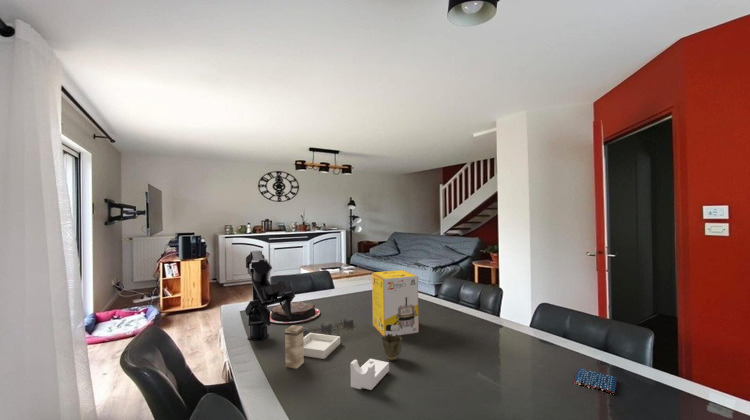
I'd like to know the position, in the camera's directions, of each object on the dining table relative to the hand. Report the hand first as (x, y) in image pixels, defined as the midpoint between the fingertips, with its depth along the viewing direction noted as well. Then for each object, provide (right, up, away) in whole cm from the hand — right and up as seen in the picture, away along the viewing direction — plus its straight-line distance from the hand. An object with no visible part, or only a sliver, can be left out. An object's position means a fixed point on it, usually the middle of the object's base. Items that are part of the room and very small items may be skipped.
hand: (280, 321), depth 117 cm
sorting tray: (+12, -14, +8) cm, 20 cm away
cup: (+41, -13, -2) cm, 43 cm away
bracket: (+34, -14, -16) cm, 39 cm away
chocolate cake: (-8, -15, +49) cm, 52 cm away
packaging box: (+44, -14, +29) cm, 54 cm away
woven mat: (+103, -13, -19) cm, 106 cm away
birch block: (+6, -13, -5) cm, 16 cm away
